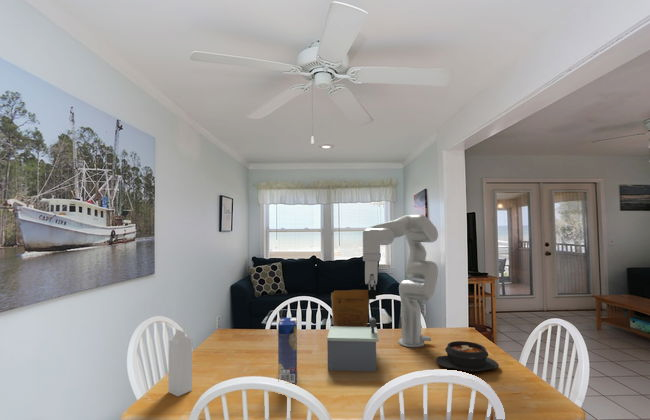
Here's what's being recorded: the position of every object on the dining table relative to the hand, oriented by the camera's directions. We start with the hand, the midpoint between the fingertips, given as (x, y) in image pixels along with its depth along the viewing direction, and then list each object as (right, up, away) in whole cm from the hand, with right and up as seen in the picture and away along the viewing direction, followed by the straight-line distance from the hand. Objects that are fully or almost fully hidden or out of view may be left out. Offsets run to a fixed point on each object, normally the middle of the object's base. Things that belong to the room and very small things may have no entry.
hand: (371, 297), depth 158 cm
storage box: (-9, -29, 0) cm, 30 cm away
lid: (-8, -17, 0) cm, 18 cm away
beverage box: (-35, -29, -13) cm, 47 cm away
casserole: (+39, -28, -5) cm, 49 cm away
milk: (-73, -29, -25) cm, 82 cm away
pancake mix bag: (-7, -30, +22) cm, 38 cm away
